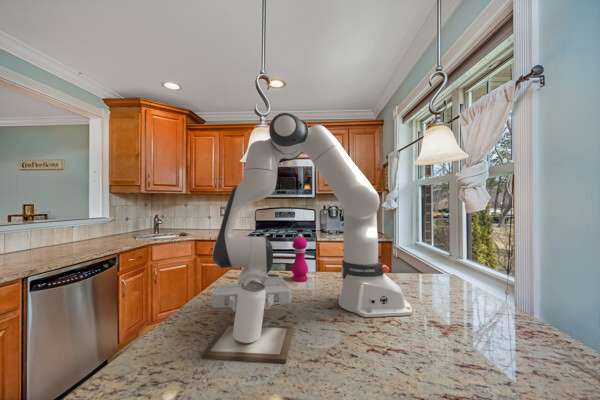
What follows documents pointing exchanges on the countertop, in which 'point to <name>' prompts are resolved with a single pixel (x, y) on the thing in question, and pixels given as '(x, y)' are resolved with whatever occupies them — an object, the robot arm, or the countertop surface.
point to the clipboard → (251, 345)
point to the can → (249, 312)
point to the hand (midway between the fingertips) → (251, 306)
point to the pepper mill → (299, 260)
